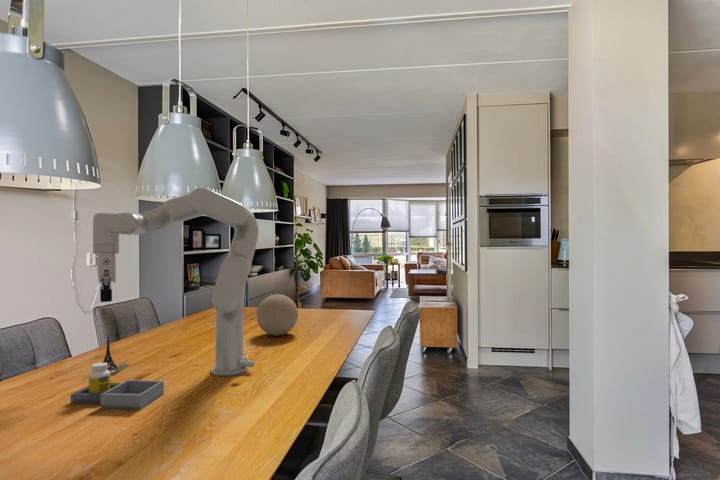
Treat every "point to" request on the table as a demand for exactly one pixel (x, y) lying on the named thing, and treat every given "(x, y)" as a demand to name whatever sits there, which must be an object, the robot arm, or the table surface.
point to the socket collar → (88, 396)
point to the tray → (132, 394)
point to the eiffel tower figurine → (111, 362)
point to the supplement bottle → (99, 378)
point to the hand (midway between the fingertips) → (105, 299)
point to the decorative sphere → (277, 314)
